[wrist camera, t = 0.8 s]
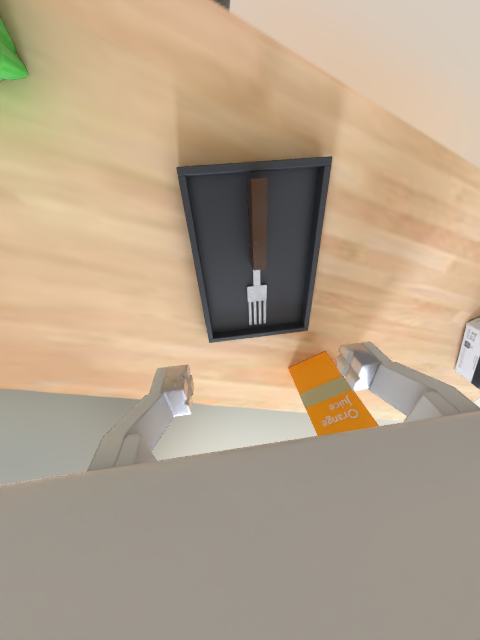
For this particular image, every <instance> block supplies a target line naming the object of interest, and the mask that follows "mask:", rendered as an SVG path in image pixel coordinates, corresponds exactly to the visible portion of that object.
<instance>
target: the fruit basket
mask: <svg viewBox="0 0 480 640" xmlns="http://www.w3.org/2000/svg"><path fill="white" fill-rule="evenodd" d="M16 54H17V53H16V50H15V46H14V43H13V41H12V39H11V37H10V35H9V33H8V31H7V29H6V27H5V25H4V23H3V21H2V19H1V17H0V82H1V80H3V78H4V79H10V80H14V79H19V78H24V77H27V76H28V71H27V69H26V67H25V66H24V64H23V63H22V61H21V60H20V59H19V57H18V56H17V55H16Z"/></svg>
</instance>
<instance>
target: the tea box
mask: <svg viewBox="0 0 480 640" xmlns="http://www.w3.org/2000/svg"><path fill="white" fill-rule="evenodd" d="M455 371H456V372H457V373H459V374H460V375H461V376H462V377H464V378H465V379H466V380H468V381H469V382H470V383H472V384H473V385H475V386H476V387H477V388H478V389H480V317H479V318H476V319H474V320H471V321H469V322H467V323H466V330H465V333H464V338H463V341H462V345H461V350H460V353H459V357H458V361H457V364H456V367H455Z"/></svg>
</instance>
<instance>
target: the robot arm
mask: <svg viewBox="0 0 480 640" xmlns="http://www.w3.org/2000/svg"><path fill="white" fill-rule="evenodd" d="M339 352H340V353H341V354H340V355H339V356H338V357H337V360H336V364H337V368H338V371H339V372H340V374H342V375H343V376H345V377H346V382H347V383H348V385H349V386H350V388H351V389H352V390H353V391H356V390H365V389H369V391H371V392H372V393H374V394H375V395H377V396H378V397H380V398H381V399H383V400H384V401H386V402H387V403H389V404H390V405H392V406H393V407H394V408H396V409H397V410H399V411H400V412H402V413H403V414H405V415H406V416H407V418H406V419H405V421H404V422H403V423H397V424H391V425H384V426H378V427H371V428H365V429H359V430H352V431H346V432H339V433H333V434H326V435H320V436H314V437H307V438H301V439H294V440H288V441H282V442H275V443H269V444H263V445H256V446H250V447H244V448H237V449H230V450H224V451H218V452H211V453H204V454H198V455H192V456H185V457H179V458H172V459H166V460H159V461H157V460H156V459H155V457H154V455H153V454H152V452H151V451H152V450H153V448H154V447H155V445H156V444H157V442H158V441H159V439H160V438H161V436H162V435H163V433H164V432H165V430H166V429H167V427H168V426H169V424H170V423H171V421H172V420H173V418H174V417H175V416H181V415H187V414H191V411H192V399H191V396H192V395H193V390H194V388H193V379H192V376H191V375H190V368H189V365H181V366H171V367H163V368H158V369H157V370H156V373H155V376H154V380H153V383H152V386H151V389H150V392H149V395H145V396H144V397H143V398H142V399H141V400H140V401H139V402H138V403H137V405H135V406H134V407H133V408H132V409H131V410H130V411H129V412H128V413H127V414H126V415H125V416H124V417H123V418H122V419H121V420H120V421H119V422H118V423H117V424H116V425H115V426H114V427H113V428H112V429H111V430H110V431H108V432H107V433H106V434H105V435H104V436H103V438H102V439H101V441H100V444H99V446H98V448H97V450H96V452H95V455H94V457H93V459H92V461H91V464H90V466H89V468H88V470H87V472H81V473H75V474H69V475H62V476H56V477H50V478H43V479H36V480H30V481H23V482H18V483H11V484H4V485H0V640H480V408H479V407H478V406H477V405H475V404H474V403H473V402H472V401H471V400H469V399H468V398H467V397H466V396H464V395H463V394H462V393H461V392H460V391H458V390H457V389H456V388H455V387H453V386H451V385H448V384H446V383H444V382H441V381H439V380H437V379H434V378H432V377H430V376H427V375H425V374H423V373H420V372H418V371H416V370H413V369H411V368H409V367H406V366H404V365H402V364H399V363H397V362H392V361H391V360H390V359H389V358H388V357H387V356H386V355H385V354H383V353H382V352H381V351H380V350H379V349H378V348H377V347H376V346H375V345H374V344H373V343H371V342H362V343H355V344H348V345H342V346H341V347H340V349H339Z"/></svg>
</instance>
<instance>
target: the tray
mask: <svg viewBox="0 0 480 640" xmlns="http://www.w3.org/2000/svg"><path fill="white" fill-rule="evenodd" d="M331 162H332V156H330V157H316V158H301V159H287V160H272V161H258V162H243V163H229V164H214V165H200V166H185V167H177V173H178V179H179V184H180V189H181V195H182V200H183V205H184V211H185V216H186V221H187V226H188V232H189V237H190V242H191V248H192V253H193V258H194V264H195V269H196V274H197V280H198V285H199V290H200V296H201V301H202V306H203V311H204V317H205V322H206V327H207V333H208V338H209V343H212V342H220V341H228V340H236V339H244V338H253V337H261V336H269V335H277V334H285V333H293V332H301V331H308V325H309V318H310V311H311V304H312V297H313V290H314V283H315V276H316V269H317V262H318V255H319V248H320V241H321V234H322V226H323V219H324V212H325V205H326V198H327V191H328V184H329V177H330V170H331ZM256 178H267V269H264V270H260V281H261V284H267V300H266V323H263V301H261V318H262V324H259V323H258V301H256V310H257V324H256V325H254V318H253V302H251V308H252V325H249V313H248V301H247V286H250V285H253V270H252V266H251V264H250V250H249V224H248V198H247V180H250V179H256Z"/></svg>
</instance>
